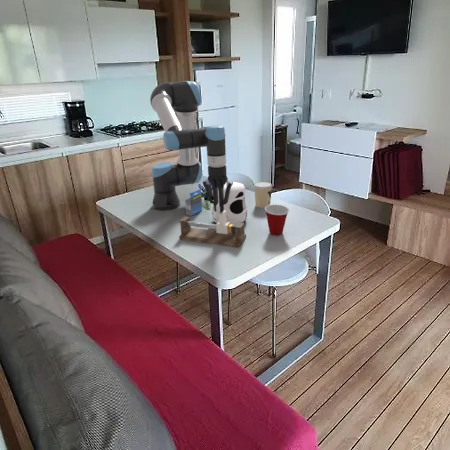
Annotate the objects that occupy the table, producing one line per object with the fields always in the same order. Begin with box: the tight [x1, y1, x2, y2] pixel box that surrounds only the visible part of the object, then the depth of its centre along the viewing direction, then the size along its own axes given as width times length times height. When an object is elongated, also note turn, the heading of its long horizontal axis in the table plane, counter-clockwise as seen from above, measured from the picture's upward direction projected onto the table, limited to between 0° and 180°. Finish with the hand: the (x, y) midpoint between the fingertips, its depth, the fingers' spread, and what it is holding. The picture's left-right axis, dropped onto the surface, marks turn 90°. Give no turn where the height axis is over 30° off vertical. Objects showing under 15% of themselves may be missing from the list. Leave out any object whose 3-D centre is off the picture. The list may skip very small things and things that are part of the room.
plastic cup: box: [264, 204, 290, 237], centre depth 162 cm, size 11×11×12 cm
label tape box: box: [185, 189, 203, 217], centre depth 189 cm, size 9×4×12 cm, turn 144°
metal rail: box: [187, 220, 237, 234], centre depth 160 cm, size 26×4×4 cm, turn 69°
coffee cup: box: [253, 181, 273, 209], centre depth 194 cm, size 9×9×12 cm
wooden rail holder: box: [178, 216, 247, 248], centre depth 160 cm, size 28×10×8 cm, turn 69°
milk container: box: [211, 181, 248, 224], centre depth 175 cm, size 17×17×18 cm
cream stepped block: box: [215, 210, 230, 234], centre depth 157 cm, size 5×5×9 cm
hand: (219, 218), depth 157 cm, fingers closed
